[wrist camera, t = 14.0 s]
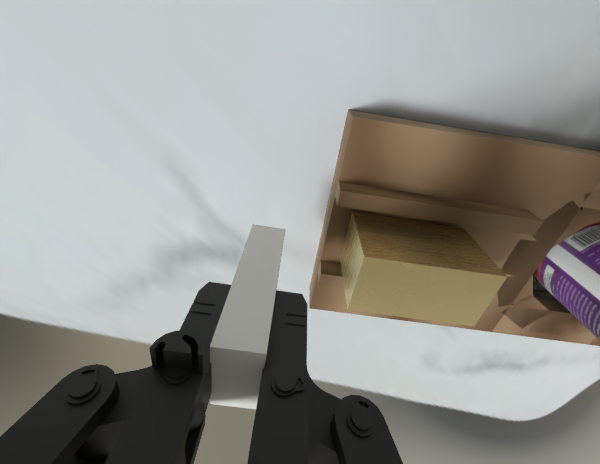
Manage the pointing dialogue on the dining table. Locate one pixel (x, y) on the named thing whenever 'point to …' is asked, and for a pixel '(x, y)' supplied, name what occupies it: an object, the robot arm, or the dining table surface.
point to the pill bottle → (576, 275)
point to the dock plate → (465, 209)
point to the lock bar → (416, 270)
